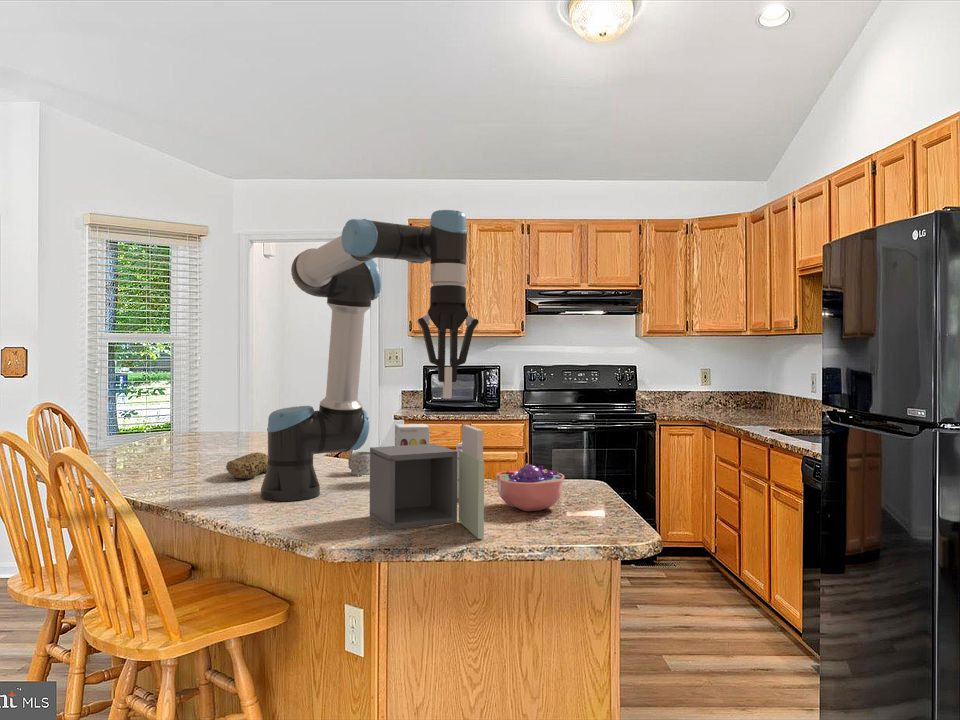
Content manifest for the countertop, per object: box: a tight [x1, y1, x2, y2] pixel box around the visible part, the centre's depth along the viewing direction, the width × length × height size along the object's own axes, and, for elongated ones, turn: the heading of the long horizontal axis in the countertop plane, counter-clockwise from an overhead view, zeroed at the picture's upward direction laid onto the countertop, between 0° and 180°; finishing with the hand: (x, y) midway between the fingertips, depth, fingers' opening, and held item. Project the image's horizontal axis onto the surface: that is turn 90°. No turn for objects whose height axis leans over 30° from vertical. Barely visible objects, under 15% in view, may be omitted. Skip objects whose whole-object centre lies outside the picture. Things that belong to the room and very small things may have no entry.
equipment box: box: [369, 443, 458, 531], centre depth 160 cm, size 14×16×16 cm
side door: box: [458, 424, 485, 540], centre depth 150 cm, size 1×16×22 cm, turn 16°
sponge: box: [225, 452, 268, 480], centre depth 215 cm, size 13×8×20 cm
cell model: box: [495, 464, 565, 512], centre depth 172 cm, size 17×20×11 cm
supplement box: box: [394, 423, 431, 446], centre depth 206 cm, size 10×9×17 cm
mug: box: [348, 451, 370, 477], centre depth 220 cm, size 10×7×7 cm, turn 46°
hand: (447, 397), depth 147 cm, fingers closed
